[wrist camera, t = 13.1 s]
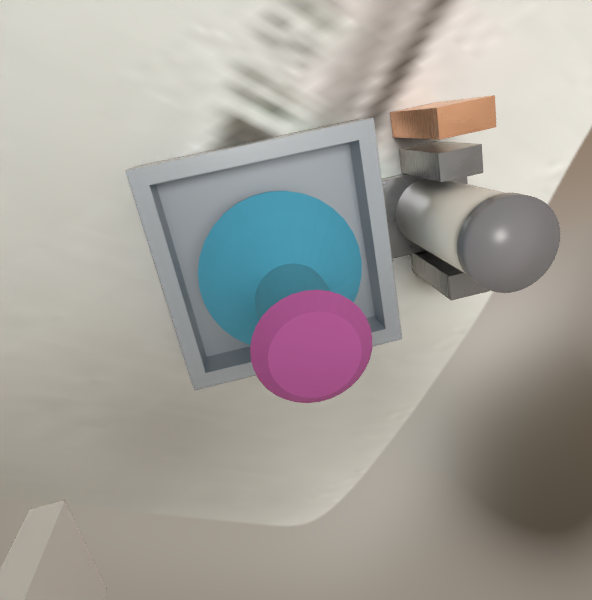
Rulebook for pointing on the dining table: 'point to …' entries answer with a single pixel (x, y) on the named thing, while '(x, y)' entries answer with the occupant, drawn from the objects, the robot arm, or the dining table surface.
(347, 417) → the dining table surface
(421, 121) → the clip rack
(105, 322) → the dining table surface
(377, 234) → the tray
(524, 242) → the canister
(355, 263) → the perfume bottle
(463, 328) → the dining table surface
